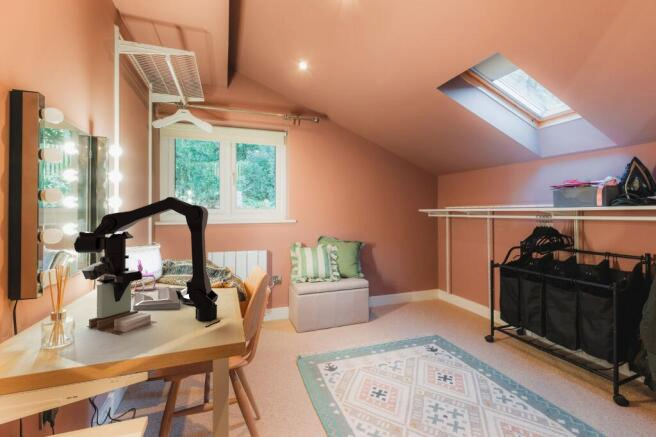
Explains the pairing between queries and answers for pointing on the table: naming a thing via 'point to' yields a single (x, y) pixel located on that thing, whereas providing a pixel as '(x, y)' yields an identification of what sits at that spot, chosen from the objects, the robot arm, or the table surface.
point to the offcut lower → (132, 326)
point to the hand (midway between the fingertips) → (114, 301)
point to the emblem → (162, 299)
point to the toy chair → (144, 274)
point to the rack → (111, 322)
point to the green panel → (112, 301)
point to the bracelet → (142, 289)
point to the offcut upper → (132, 319)
